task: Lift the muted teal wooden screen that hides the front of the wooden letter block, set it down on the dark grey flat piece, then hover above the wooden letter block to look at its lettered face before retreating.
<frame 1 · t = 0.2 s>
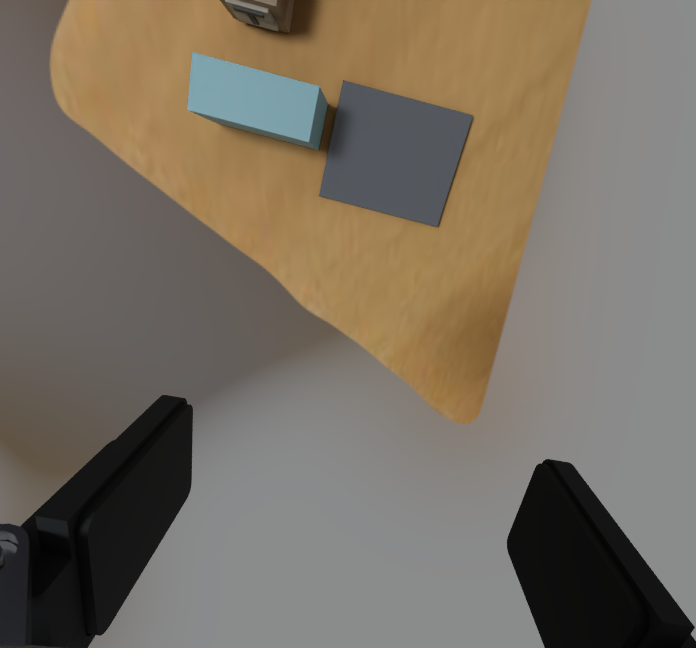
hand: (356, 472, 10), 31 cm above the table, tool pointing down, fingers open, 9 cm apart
dark grey flat piece: (392, 157, 35), on the table
teal screen: (271, 113, 35), on the table
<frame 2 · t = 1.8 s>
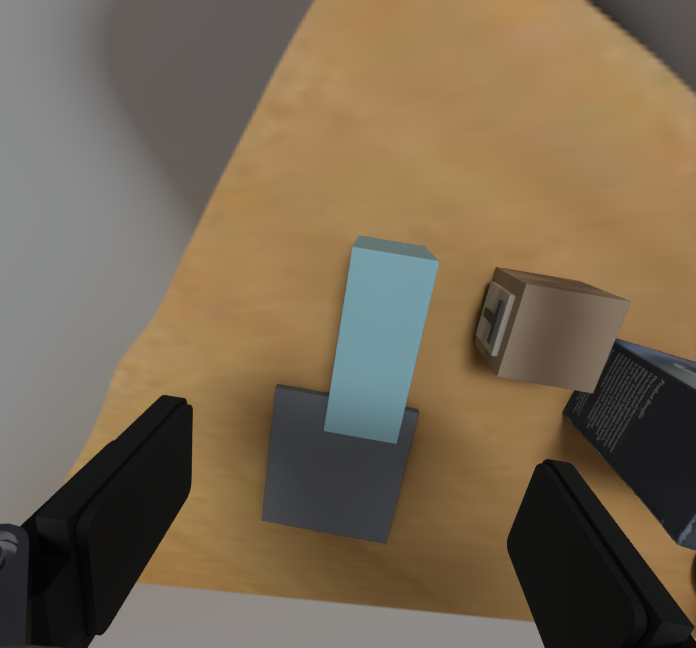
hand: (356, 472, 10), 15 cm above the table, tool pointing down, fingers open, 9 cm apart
small box: (655, 395, 25), on the table
wooden letter block: (524, 312, 23), on the table
dark grey flat piece: (335, 466, 28), on the table
teal screen: (376, 317, 24), on the table
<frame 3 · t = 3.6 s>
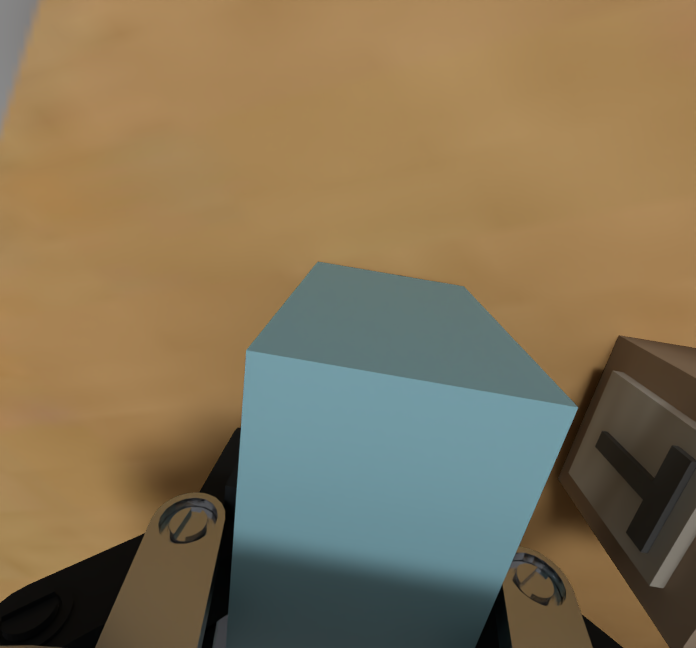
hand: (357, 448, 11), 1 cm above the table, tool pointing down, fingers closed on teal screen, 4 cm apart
wooden letter block: (666, 424, 11), on the table
teal screen: (359, 427, 12), on the table, touching gripper
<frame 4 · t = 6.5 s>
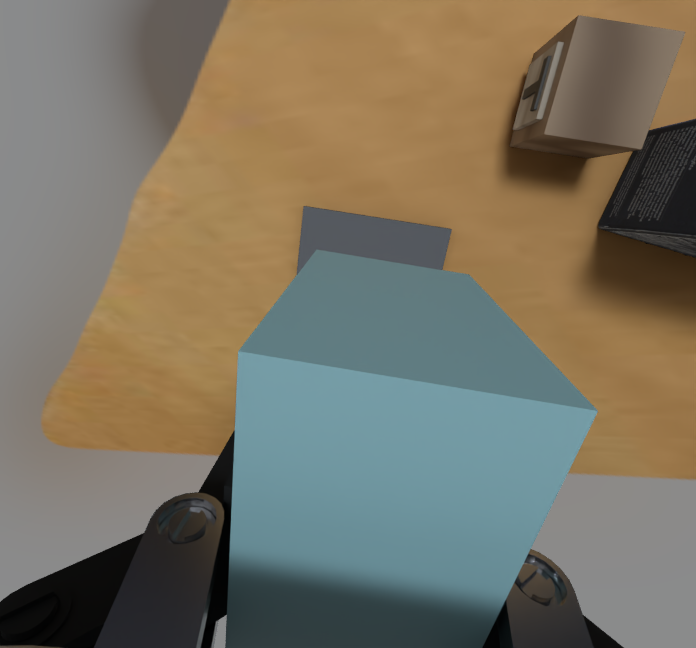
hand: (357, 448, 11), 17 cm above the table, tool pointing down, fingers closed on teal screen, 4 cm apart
small box: (691, 201, 24), on the table
wooden letter block: (561, 108, 23), on the table
dark grey flat piece: (363, 301, 27), on the table
teal screen: (361, 419, 12), point 16 cm above the table, touching gripper
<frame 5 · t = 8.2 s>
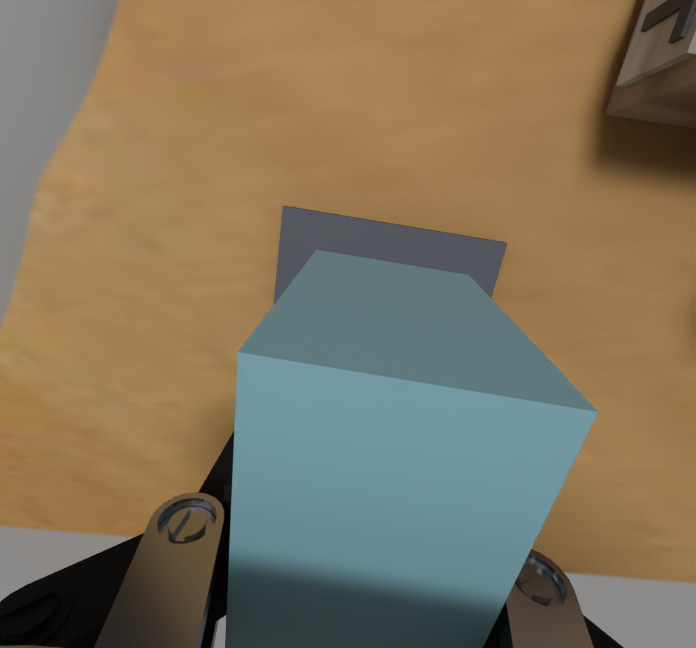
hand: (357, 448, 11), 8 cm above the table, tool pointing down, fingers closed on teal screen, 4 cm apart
wooden letter block: (693, 52, 14), on the table
dark grey flat piece: (370, 344, 19), on the table
teal screen: (361, 419, 12), point 8 cm above the table, touching gripper
when the fingers open (3 cm above the table, at t = 9.6 s): teal screen drops 1 cm, resting on dark grey flat piece.
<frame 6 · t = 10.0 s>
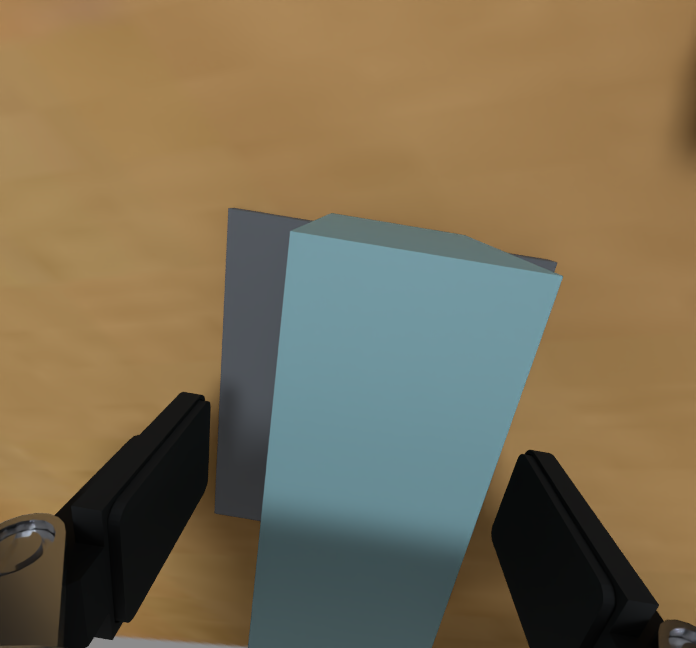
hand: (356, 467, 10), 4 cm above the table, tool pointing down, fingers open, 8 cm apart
dark grey flat piece: (360, 399, 14), on the table
teal screen: (368, 373, 13), resting on dark grey flat piece
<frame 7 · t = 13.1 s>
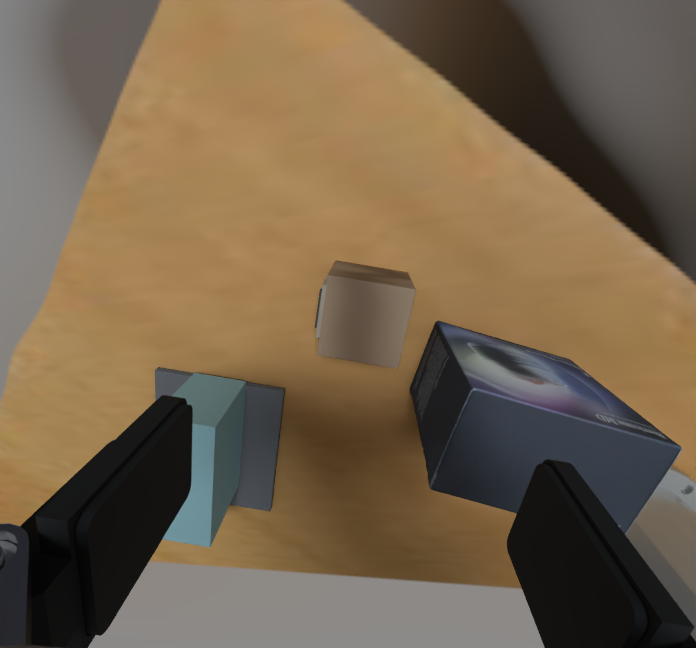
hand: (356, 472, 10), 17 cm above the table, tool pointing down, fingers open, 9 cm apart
small box: (488, 372, 28), on the table
wooden letter block: (365, 300, 26), on the table
dark grey flat piece: (218, 441, 31), on the table
teal screen: (218, 431, 30), resting on dark grey flat piece
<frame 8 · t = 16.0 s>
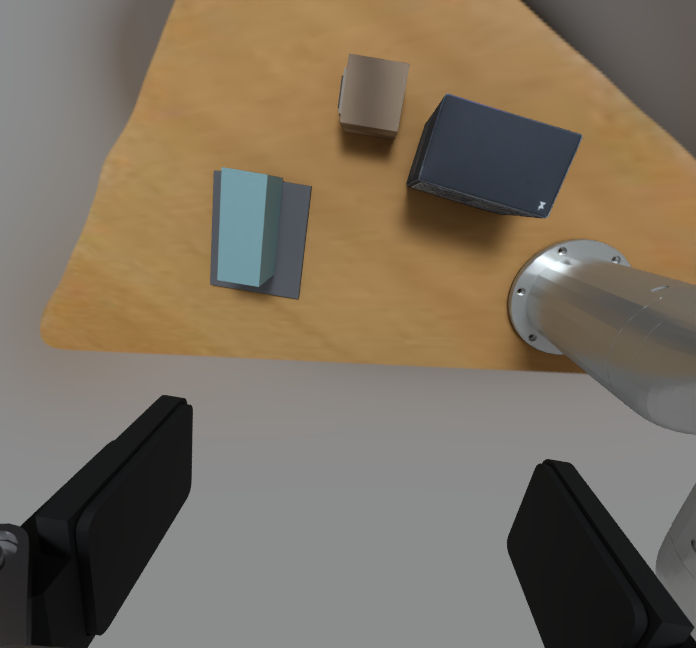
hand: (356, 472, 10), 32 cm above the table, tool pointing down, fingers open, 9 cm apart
small box: (465, 168, 37), on the table
wooden letter block: (373, 107, 36), on the table
dark grey flat piece: (259, 237, 40), on the table
teal screen: (259, 225, 39), resting on dark grey flat piece
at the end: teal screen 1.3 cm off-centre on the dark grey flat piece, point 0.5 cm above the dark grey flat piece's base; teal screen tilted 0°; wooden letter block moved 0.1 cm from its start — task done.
